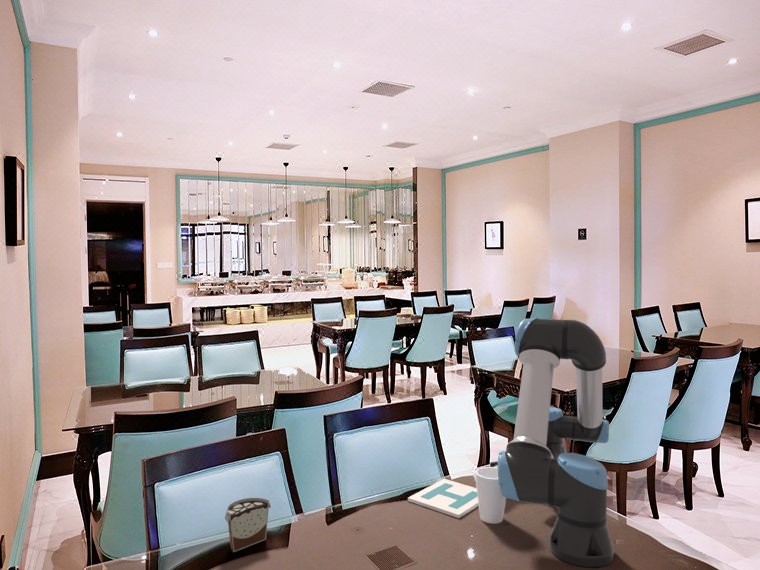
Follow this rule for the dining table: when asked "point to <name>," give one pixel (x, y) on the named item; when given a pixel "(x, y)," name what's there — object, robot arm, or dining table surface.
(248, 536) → the food container
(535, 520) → the dining table surface
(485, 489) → the foam cup
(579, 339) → the robot arm
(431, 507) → the letter board
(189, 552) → the dining table surface
